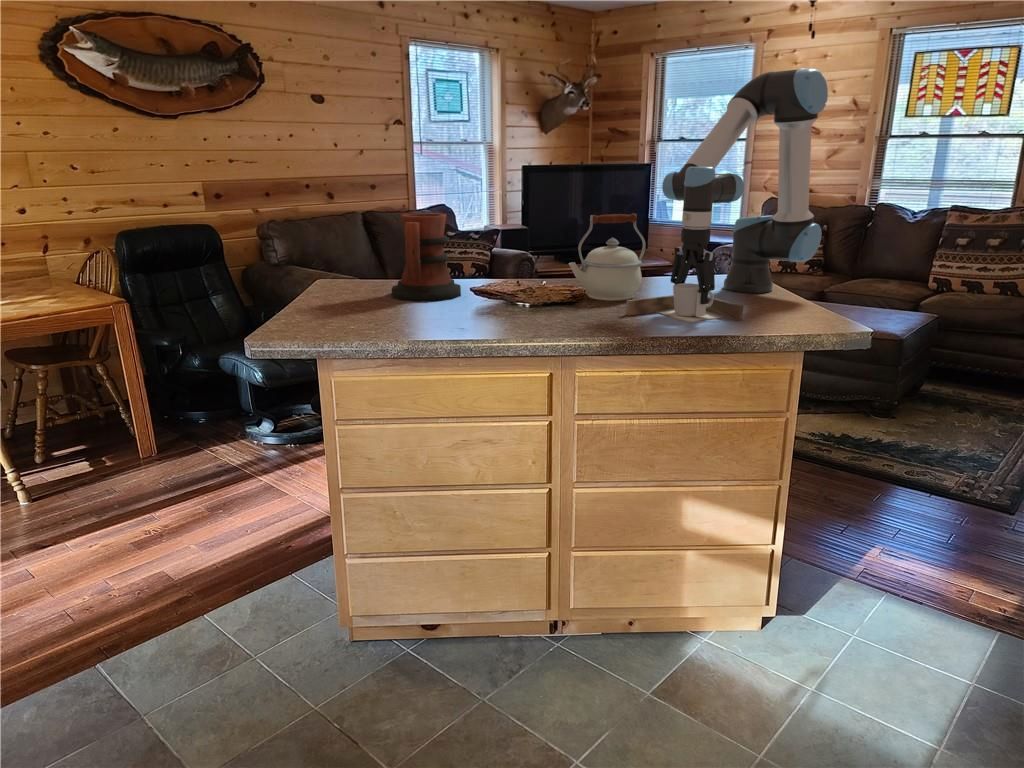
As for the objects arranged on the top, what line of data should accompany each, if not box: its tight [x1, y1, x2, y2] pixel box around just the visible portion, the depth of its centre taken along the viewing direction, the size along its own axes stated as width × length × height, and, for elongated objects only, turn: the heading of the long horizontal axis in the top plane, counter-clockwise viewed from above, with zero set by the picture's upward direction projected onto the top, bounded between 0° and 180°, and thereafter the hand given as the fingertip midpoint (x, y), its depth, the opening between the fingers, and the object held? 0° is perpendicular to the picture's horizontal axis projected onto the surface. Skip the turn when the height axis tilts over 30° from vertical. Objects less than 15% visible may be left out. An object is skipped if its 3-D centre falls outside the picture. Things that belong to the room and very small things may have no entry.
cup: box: [672, 282, 715, 316], centre depth 198 cm, size 11×8×8 cm
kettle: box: [568, 212, 647, 302], centre depth 222 cm, size 25×18×25 cm
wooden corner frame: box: [625, 294, 745, 323], centre depth 197 cm, size 23×20×4 cm
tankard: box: [391, 212, 462, 303], centre depth 224 cm, size 22×25×25 cm
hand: (689, 312), depth 199 cm, fingers closed on cup, 8 cm apart
